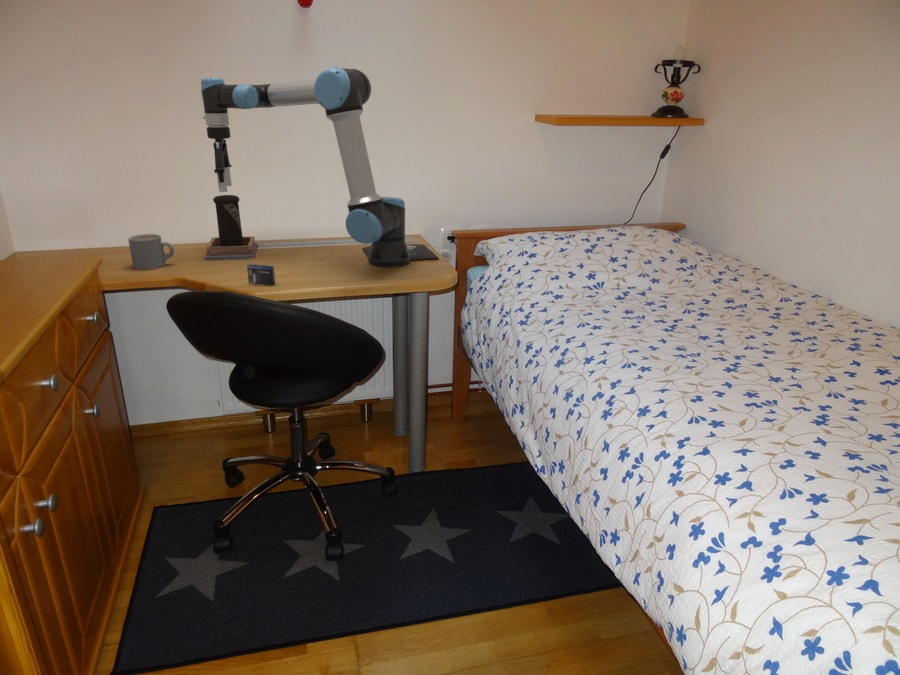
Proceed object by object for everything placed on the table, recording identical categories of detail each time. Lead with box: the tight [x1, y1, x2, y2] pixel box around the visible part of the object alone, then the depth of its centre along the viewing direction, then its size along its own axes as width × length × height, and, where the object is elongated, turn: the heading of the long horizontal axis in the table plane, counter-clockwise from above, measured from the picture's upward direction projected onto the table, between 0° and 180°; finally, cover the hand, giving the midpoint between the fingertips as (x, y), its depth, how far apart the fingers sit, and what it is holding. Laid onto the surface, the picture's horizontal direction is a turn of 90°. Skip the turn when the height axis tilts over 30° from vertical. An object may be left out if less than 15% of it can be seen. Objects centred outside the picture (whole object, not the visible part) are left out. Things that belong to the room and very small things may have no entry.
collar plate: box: [203, 236, 259, 261], centre depth 229 cm, size 20×17×4 cm
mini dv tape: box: [246, 263, 276, 286], centre depth 195 cm, size 8×2×6 cm, turn 80°
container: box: [212, 194, 244, 246], centre depth 226 cm, size 9×9×20 cm
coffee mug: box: [128, 233, 175, 270], centre depth 210 cm, size 13×10×10 cm
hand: (225, 188), depth 221 cm, fingers open, 13 cm apart
